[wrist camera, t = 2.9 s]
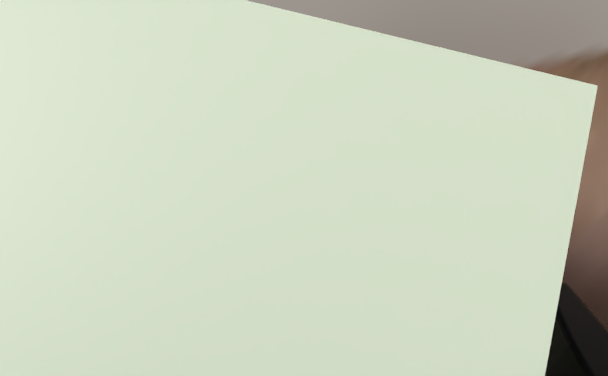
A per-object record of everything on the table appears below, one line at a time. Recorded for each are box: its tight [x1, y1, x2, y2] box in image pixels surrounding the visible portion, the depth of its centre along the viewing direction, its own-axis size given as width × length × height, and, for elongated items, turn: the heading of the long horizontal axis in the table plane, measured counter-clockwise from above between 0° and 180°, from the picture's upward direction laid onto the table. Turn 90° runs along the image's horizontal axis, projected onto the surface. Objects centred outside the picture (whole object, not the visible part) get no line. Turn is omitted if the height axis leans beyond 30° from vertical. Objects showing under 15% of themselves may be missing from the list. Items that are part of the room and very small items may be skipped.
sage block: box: [0, 0, 598, 376], centre depth 10 cm, size 5×5×12 cm
